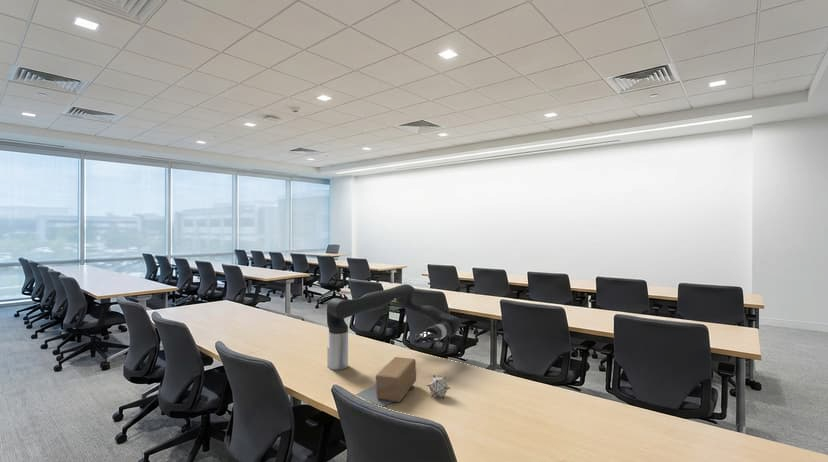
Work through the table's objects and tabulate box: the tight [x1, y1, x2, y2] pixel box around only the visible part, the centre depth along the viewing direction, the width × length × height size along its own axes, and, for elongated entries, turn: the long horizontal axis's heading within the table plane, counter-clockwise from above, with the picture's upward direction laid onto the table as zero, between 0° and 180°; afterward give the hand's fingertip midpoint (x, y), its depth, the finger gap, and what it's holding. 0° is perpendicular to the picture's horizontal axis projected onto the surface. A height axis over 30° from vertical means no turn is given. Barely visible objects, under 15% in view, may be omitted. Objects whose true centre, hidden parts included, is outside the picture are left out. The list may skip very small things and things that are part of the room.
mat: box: [355, 384, 415, 408], centre depth 157 cm, size 16×20×2 cm
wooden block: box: [375, 356, 417, 403], centre depth 158 cm, size 10×10×20 cm
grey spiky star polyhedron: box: [426, 374, 451, 400], centre depth 154 cm, size 9×8×10 cm
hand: (416, 341), depth 176 cm, fingers closed
